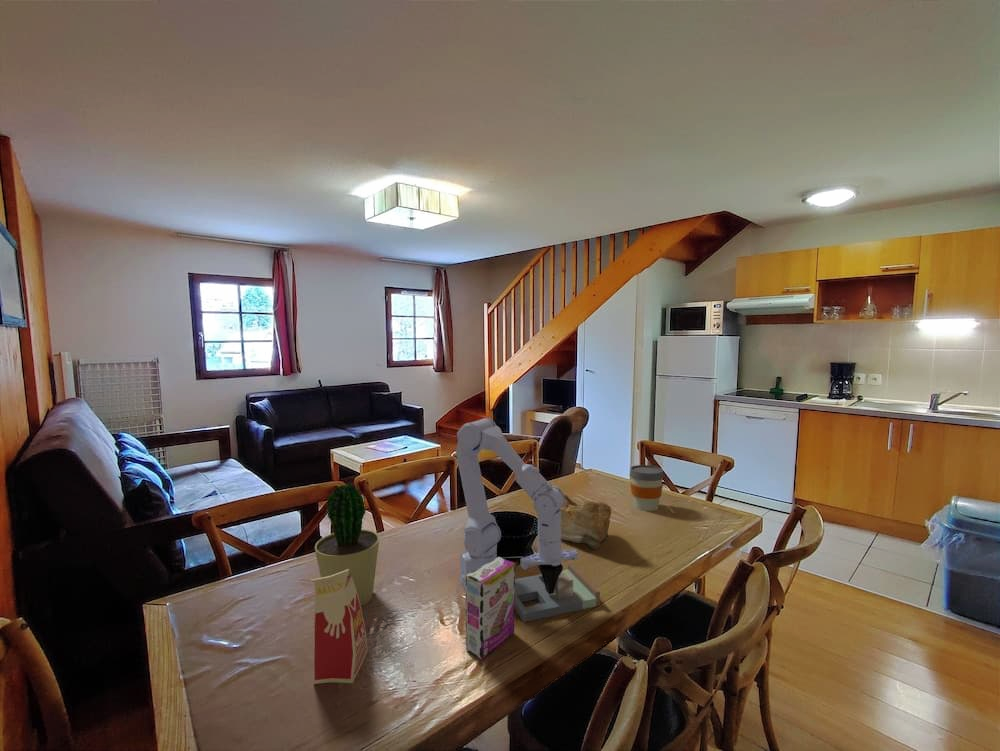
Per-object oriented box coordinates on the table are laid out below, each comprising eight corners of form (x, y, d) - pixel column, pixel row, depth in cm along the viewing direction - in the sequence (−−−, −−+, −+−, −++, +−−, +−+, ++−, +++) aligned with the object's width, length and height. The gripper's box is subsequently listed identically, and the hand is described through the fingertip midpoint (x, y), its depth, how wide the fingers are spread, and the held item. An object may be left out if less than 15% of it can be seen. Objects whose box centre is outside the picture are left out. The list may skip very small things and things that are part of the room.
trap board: (523, 622, 102) (523, 607, 102) (502, 588, 117) (502, 575, 116) (599, 605, 109) (599, 591, 108) (571, 575, 123) (571, 563, 123)
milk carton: (367, 650, 94) (364, 558, 92) (355, 683, 84) (351, 581, 83) (323, 651, 93) (320, 559, 92) (306, 685, 84) (302, 583, 83)
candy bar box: (482, 661, 90) (481, 583, 89) (464, 651, 93) (463, 575, 92) (516, 633, 98) (515, 561, 97) (498, 624, 102) (498, 555, 100)
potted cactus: (377, 577, 123) (374, 470, 121) (384, 607, 109) (380, 487, 107) (317, 588, 117) (313, 477, 115) (316, 622, 103) (311, 495, 101)
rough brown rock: (633, 547, 141) (634, 500, 142) (599, 558, 131) (600, 507, 131) (577, 526, 160) (579, 485, 160) (544, 535, 150) (546, 490, 150)
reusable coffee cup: (623, 503, 178) (623, 466, 177) (649, 499, 182) (650, 463, 181) (641, 514, 166) (642, 475, 165) (670, 510, 170) (670, 471, 169)
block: (558, 598, 108) (558, 582, 108) (551, 589, 112) (551, 574, 112) (573, 595, 110) (573, 579, 109) (565, 587, 113) (565, 572, 113)
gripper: (528, 549, 103) (528, 606, 104) (583, 540, 107) (583, 594, 108) (517, 537, 109) (517, 590, 110) (570, 529, 114) (570, 580, 115)
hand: (549, 591), depth 110 cm, fingers closed
